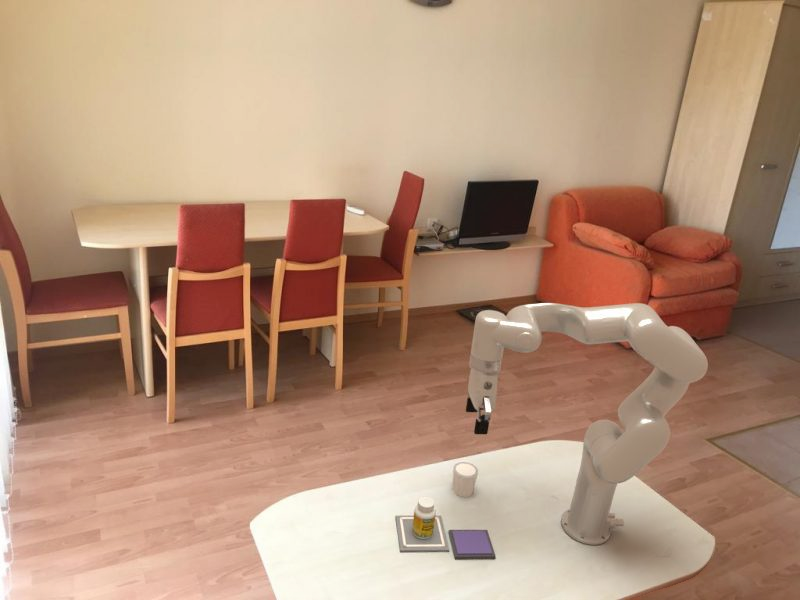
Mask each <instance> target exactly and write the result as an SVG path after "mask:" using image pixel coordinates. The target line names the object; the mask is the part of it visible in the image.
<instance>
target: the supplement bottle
mask: <svg viewBox="0 0 800 600" xmlns="http://www.w3.org/2000/svg"><path fill="white" fill-rule="evenodd" d="M436 512H437V510H436V508H435V501H434V499H433V498H431V497H429V496H422V497H420V498H419V499H418V501H417V504H416V506H415V507H414V510H413V516H414V519H413V527H412V532H413V534H414V535H415V536H416V537H417V538H420V539H428V538H430V537H431V536H432V534H433V530H434V523H435V516H437V513H436Z"/></svg>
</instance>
